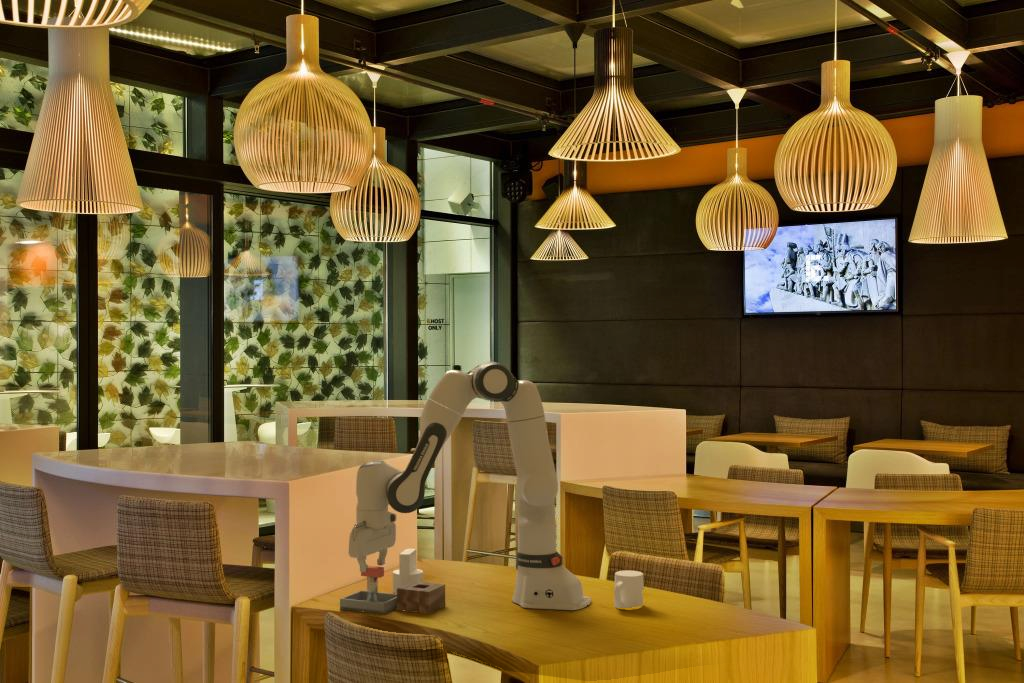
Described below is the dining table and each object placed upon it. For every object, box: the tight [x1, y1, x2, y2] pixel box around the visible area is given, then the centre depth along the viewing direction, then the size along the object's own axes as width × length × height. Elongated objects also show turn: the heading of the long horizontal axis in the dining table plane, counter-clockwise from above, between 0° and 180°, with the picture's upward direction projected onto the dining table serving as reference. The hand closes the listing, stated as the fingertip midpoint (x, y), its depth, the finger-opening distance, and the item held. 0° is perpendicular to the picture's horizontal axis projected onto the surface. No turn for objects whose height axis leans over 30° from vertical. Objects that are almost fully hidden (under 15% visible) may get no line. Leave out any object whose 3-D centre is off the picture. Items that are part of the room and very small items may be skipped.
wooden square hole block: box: [396, 581, 446, 614], centre depth 295 cm, size 10×10×6 cm
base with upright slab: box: [392, 548, 424, 594], centre depth 315 cm, size 9×9×12 cm
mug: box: [613, 569, 645, 608], centre depth 296 cm, size 12×9×8 cm
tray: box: [339, 590, 397, 615], centre depth 296 cm, size 14×11×3 cm
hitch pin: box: [360, 565, 385, 602], centre depth 296 cm, size 6×3×10 cm, turn 67°
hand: (372, 568), depth 296 cm, fingers open, 8 cm apart
